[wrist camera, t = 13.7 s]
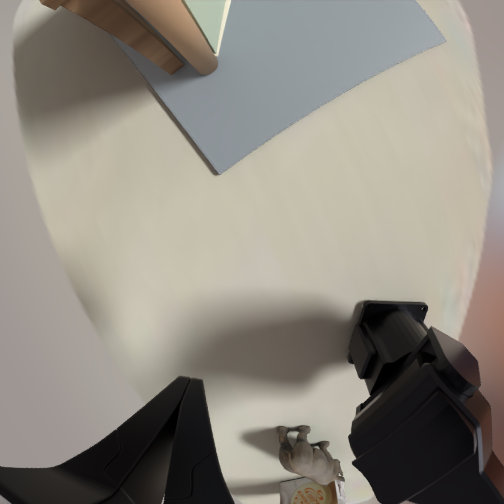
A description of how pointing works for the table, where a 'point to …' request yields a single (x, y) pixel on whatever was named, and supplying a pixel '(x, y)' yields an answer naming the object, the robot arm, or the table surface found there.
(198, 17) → the panel
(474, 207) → the table surface
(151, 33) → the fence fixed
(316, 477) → the rhino figurine
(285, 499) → the coffee box
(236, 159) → the card
